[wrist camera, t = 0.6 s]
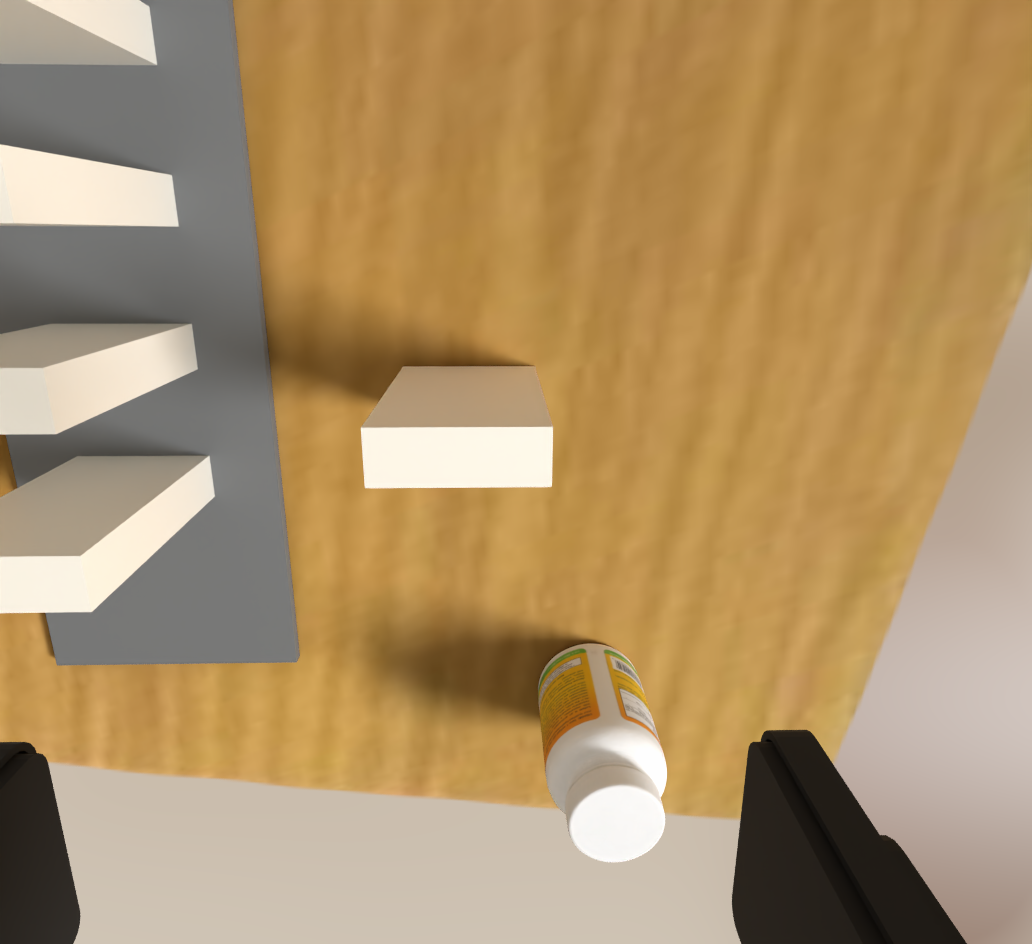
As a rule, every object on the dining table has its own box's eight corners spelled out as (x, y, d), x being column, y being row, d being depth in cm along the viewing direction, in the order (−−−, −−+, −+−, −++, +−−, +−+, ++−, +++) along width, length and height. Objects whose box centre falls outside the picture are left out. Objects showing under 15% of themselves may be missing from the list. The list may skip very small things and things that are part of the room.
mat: (-99, -83, 27) (-112, -90, 27) (224, -79, 28) (218, -86, 27) (63, 658, 37) (57, 665, 37) (299, 655, 38) (296, 662, 37)
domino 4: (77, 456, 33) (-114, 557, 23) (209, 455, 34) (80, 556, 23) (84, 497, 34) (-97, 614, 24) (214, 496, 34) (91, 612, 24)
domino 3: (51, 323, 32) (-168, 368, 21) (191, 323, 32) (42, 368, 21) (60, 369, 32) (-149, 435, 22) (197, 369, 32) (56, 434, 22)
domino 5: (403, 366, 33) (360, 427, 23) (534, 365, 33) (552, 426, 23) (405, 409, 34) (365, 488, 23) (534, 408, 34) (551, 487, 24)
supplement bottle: (533, 724, 39) (544, 875, 30) (541, 637, 38) (556, 768, 29) (631, 729, 40) (673, 880, 30) (644, 642, 38) (692, 774, 29)
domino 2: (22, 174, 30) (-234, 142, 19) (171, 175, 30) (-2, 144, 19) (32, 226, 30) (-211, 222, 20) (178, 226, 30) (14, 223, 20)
